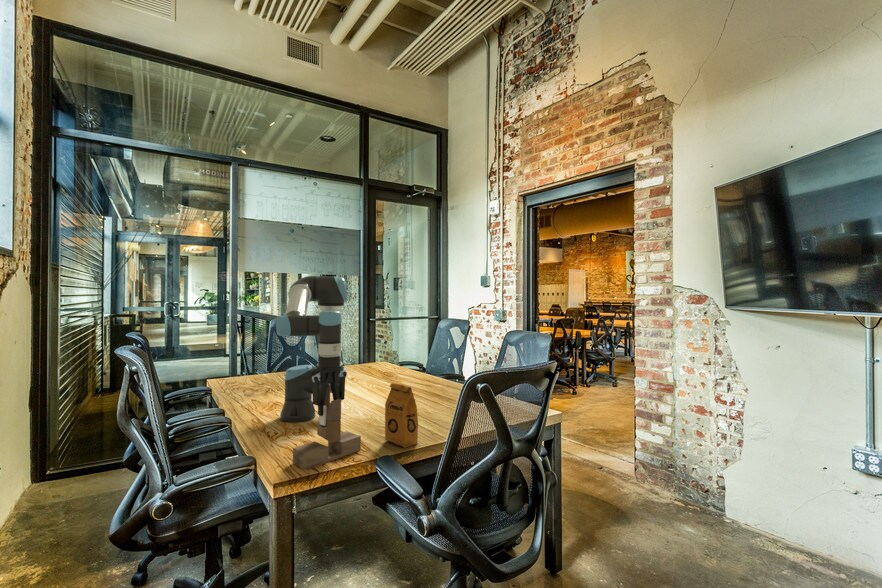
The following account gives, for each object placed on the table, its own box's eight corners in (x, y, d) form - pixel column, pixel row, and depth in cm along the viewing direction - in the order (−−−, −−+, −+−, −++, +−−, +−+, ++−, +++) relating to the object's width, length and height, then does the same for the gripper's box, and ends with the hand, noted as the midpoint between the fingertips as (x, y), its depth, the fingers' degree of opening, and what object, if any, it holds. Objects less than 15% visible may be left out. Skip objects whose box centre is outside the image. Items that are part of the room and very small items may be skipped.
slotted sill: (292, 463, 132) (292, 448, 132) (346, 444, 150) (346, 431, 150) (306, 469, 127) (306, 454, 127) (360, 450, 145) (360, 436, 145)
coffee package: (402, 450, 145) (402, 389, 145) (381, 441, 153) (381, 384, 154) (422, 443, 152) (423, 385, 152) (401, 435, 160) (401, 380, 161)
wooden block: (331, 443, 133) (331, 389, 134) (316, 434, 141) (317, 383, 142) (341, 440, 136) (341, 387, 136) (326, 432, 144) (327, 382, 144)
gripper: (314, 359, 130) (313, 431, 130) (356, 353, 143) (355, 419, 143) (301, 356, 135) (300, 426, 134) (342, 352, 148) (342, 415, 148)
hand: (328, 422), depth 139 cm, fingers closed on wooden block, 4 cm apart
